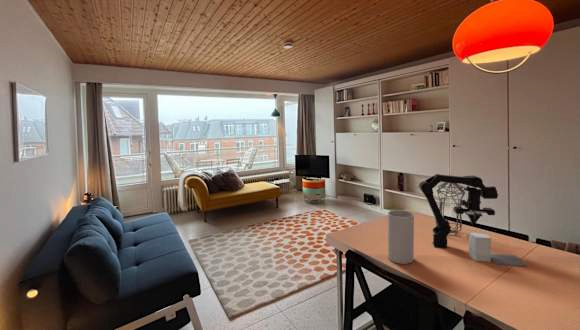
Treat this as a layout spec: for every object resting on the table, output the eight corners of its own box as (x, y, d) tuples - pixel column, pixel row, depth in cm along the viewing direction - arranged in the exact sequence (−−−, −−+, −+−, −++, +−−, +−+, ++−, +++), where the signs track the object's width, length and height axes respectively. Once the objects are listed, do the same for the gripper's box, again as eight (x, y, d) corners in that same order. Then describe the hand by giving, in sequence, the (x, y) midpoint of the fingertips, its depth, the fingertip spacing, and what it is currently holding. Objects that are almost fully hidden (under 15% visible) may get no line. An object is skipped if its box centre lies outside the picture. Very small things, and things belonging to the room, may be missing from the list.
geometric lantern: (463, 231, 179) (465, 179, 174) (463, 240, 166) (465, 184, 161) (436, 227, 188) (437, 177, 183) (434, 235, 175) (435, 182, 169)
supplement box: (491, 262, 138) (492, 238, 136) (474, 261, 139) (475, 237, 138) (483, 255, 145) (484, 232, 143) (468, 254, 146) (469, 232, 145)
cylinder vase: (402, 267, 137) (402, 218, 134) (383, 257, 148) (382, 212, 145) (418, 260, 143) (419, 214, 140) (399, 251, 154) (399, 208, 151)
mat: (495, 264, 135) (495, 262, 135) (486, 254, 146) (486, 253, 146) (526, 266, 132) (526, 265, 131) (515, 256, 142) (515, 255, 142)
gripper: (487, 195, 157) (486, 221, 158) (451, 194, 162) (450, 220, 164) (496, 200, 146) (494, 228, 148) (456, 199, 151) (455, 226, 153)
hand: (472, 225), depth 153 cm, fingers closed
